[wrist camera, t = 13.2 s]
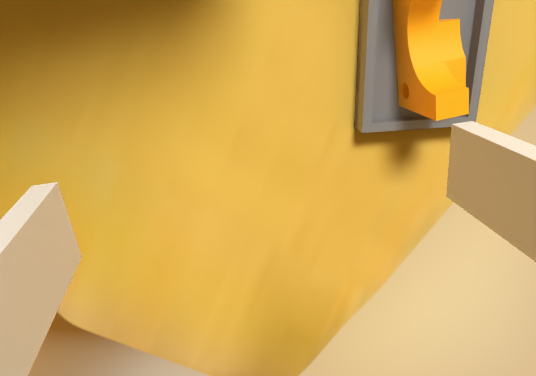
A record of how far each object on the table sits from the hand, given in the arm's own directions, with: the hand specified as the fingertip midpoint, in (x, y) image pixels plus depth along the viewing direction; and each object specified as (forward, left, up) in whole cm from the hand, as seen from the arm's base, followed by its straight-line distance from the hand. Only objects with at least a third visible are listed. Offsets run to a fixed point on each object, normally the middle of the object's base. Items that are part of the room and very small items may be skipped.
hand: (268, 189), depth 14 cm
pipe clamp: (-4, +16, -23) cm, 28 cm away
